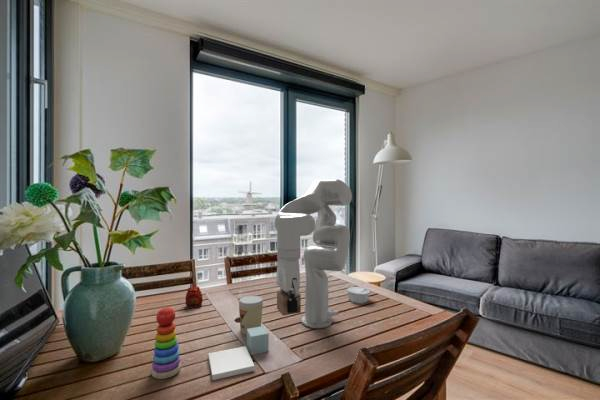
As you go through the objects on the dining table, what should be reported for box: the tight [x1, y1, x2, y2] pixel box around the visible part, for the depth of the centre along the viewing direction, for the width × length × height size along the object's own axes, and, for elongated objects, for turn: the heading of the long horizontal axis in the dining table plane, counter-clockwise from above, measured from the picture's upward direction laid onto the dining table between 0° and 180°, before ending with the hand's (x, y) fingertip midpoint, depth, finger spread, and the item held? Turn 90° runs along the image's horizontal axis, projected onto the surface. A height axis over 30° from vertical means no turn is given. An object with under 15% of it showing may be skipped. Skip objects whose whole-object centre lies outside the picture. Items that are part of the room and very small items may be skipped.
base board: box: [208, 345, 255, 381], centre depth 88 cm, size 12×12×2 cm
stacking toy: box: [151, 307, 182, 380], centre depth 84 cm, size 8×8×19 cm
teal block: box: [246, 325, 269, 355], centre depth 97 cm, size 6×6×6 cm
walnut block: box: [276, 288, 302, 316], centre depth 94 cm, size 6×6×6 cm
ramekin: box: [346, 286, 371, 304], centre depth 145 cm, size 11×11×5 cm
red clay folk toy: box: [185, 274, 204, 309], centre depth 135 cm, size 8×7×15 cm
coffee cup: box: [238, 294, 264, 336], centre depth 111 cm, size 9×9×12 cm
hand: (288, 307), depth 94 cm, fingers closed on walnut block, 5 cm apart
